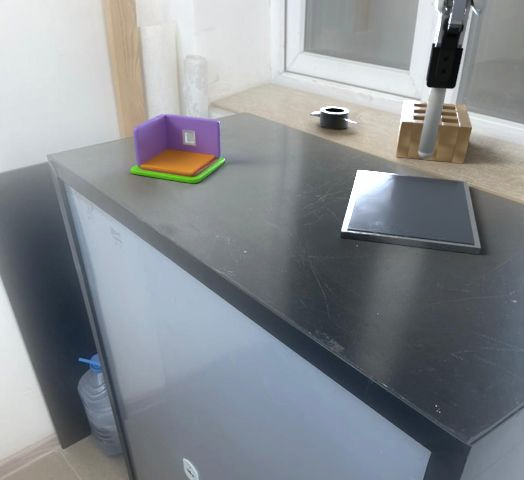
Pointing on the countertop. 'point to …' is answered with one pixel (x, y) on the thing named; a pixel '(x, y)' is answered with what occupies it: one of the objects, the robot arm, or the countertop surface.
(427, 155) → the stylus
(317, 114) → the black ring with handles
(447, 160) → the pen stand
